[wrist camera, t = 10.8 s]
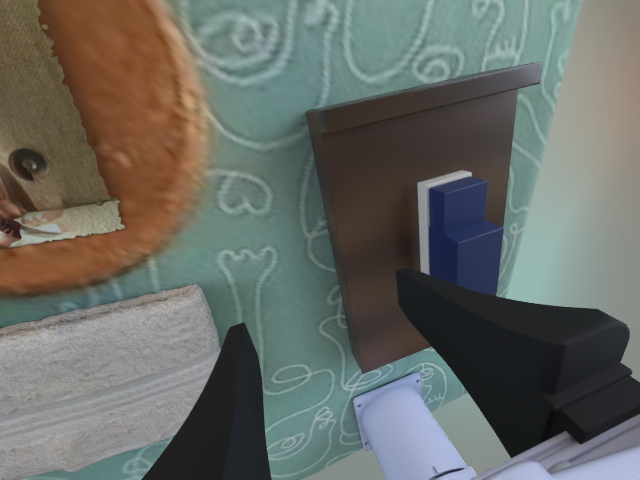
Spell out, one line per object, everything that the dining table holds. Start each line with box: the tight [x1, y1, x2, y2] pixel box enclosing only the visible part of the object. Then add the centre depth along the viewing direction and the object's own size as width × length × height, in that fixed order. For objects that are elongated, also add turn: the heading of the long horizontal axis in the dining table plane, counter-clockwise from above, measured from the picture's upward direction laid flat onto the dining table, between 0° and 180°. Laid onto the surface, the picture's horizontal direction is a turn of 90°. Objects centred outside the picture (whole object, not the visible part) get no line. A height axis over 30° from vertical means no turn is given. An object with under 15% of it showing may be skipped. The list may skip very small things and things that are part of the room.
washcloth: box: [0, 283, 221, 480], centre depth 20 cm, size 12×18×3 cm, turn 97°
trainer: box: [417, 170, 503, 295], centre depth 20 cm, size 8×4×4 cm, turn 12°
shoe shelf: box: [306, 62, 542, 374], centre depth 22 cm, size 22×14×4 cm, turn 12°
